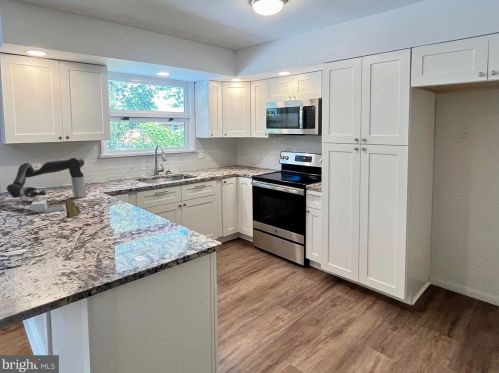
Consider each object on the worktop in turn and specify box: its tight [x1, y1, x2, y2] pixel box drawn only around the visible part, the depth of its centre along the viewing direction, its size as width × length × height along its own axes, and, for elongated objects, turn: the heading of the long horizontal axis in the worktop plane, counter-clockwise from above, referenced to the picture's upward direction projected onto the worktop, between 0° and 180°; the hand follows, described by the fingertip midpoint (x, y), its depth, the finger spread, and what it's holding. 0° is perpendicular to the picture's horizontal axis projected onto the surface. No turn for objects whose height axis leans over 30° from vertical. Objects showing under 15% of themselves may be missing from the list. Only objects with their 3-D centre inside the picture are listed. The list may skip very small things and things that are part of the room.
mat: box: [36, 205, 66, 215], centre depth 235 cm, size 16×15×1 cm
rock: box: [64, 200, 81, 218], centre depth 220 cm, size 11×9×10 cm
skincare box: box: [30, 199, 48, 213], centre depth 233 cm, size 8×6×15 cm
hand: (44, 193), depth 238 cm, fingers closed
